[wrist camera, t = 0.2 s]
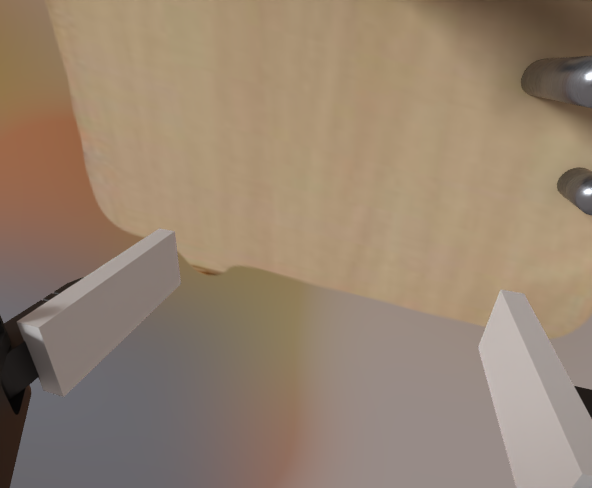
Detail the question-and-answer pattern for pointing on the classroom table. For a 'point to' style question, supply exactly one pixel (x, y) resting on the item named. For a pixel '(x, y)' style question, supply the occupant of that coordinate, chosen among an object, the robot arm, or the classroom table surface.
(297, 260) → the classroom table surface
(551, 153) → the classroom table surface
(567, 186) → the short pin
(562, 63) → the long pin
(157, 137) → the classroom table surface
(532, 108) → the classroom table surface
